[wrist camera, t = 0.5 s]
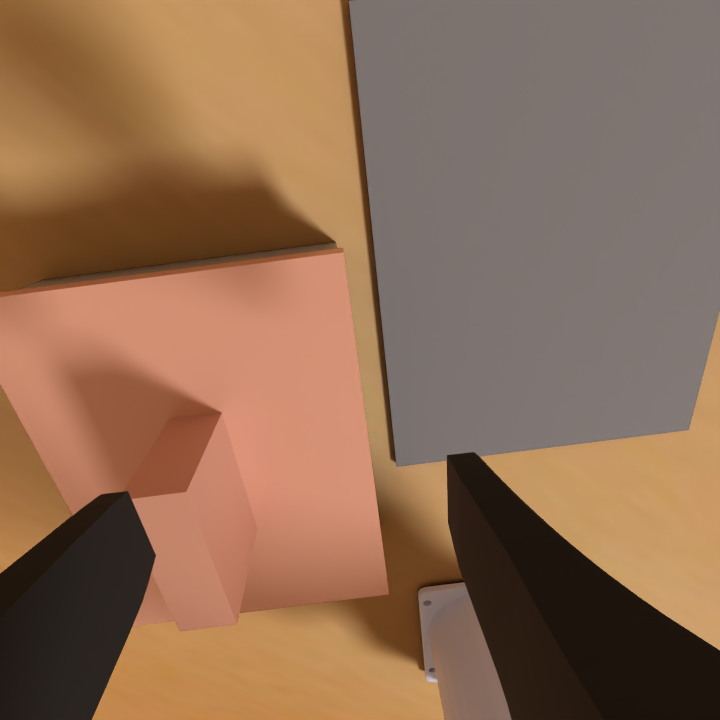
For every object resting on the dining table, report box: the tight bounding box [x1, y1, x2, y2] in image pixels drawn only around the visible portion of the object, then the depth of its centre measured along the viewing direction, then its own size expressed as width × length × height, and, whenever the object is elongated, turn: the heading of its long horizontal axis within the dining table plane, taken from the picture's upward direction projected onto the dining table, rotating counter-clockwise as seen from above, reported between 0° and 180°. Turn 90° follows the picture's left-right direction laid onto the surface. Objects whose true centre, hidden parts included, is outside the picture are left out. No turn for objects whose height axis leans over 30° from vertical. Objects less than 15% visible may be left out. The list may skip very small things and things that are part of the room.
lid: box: [0, 248, 389, 631], centre depth 16 cm, size 17×13×6 cm
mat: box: [349, 0, 720, 467], centre depth 18 cm, size 19×15×1 cm
